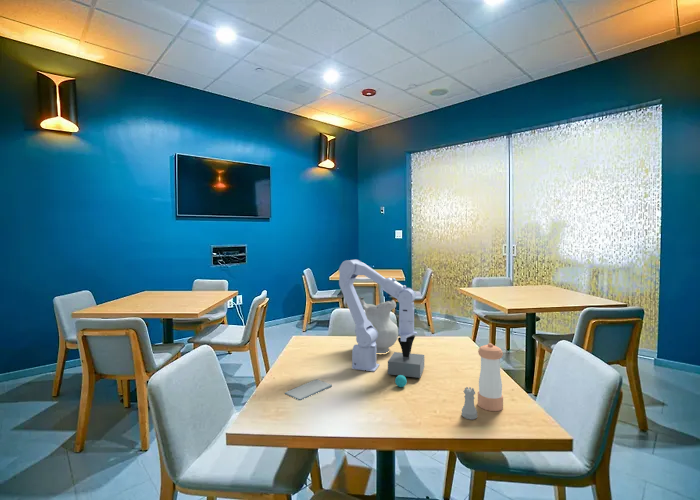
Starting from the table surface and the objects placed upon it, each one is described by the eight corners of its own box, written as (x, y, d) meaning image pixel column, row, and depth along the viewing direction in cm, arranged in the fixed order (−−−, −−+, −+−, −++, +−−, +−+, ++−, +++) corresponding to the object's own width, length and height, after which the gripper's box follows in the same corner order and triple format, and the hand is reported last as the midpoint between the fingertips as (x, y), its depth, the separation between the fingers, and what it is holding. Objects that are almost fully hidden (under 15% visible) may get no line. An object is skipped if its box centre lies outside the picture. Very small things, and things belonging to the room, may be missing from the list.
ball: (394, 388, 121) (394, 376, 121) (396, 384, 125) (396, 372, 125) (405, 389, 120) (405, 377, 120) (407, 385, 123) (407, 374, 123)
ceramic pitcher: (347, 356, 159) (345, 302, 156) (358, 341, 177) (357, 293, 175) (394, 361, 152) (394, 305, 150) (401, 345, 171) (401, 295, 168)
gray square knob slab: (387, 374, 131) (387, 352, 131) (394, 363, 143) (394, 343, 143) (420, 377, 127) (420, 355, 127) (424, 366, 139) (424, 345, 139)
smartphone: (283, 392, 117) (316, 378, 128) (283, 395, 117) (316, 381, 128) (299, 399, 112) (332, 384, 123) (299, 402, 112) (332, 387, 123)
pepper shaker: (491, 413, 103) (491, 348, 102) (472, 403, 109) (472, 342, 109) (508, 408, 106) (508, 344, 106) (488, 398, 113) (489, 339, 112)
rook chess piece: (458, 413, 103) (458, 385, 103) (473, 412, 104) (473, 385, 103) (465, 420, 99) (465, 392, 99) (480, 419, 99) (480, 391, 99)
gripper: (414, 325, 127) (414, 362, 127) (419, 317, 140) (419, 351, 141) (394, 323, 129) (394, 360, 129) (402, 316, 143) (402, 349, 143)
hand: (406, 355), depth 135 cm, fingers closed on gray square knob slab, 2 cm apart
